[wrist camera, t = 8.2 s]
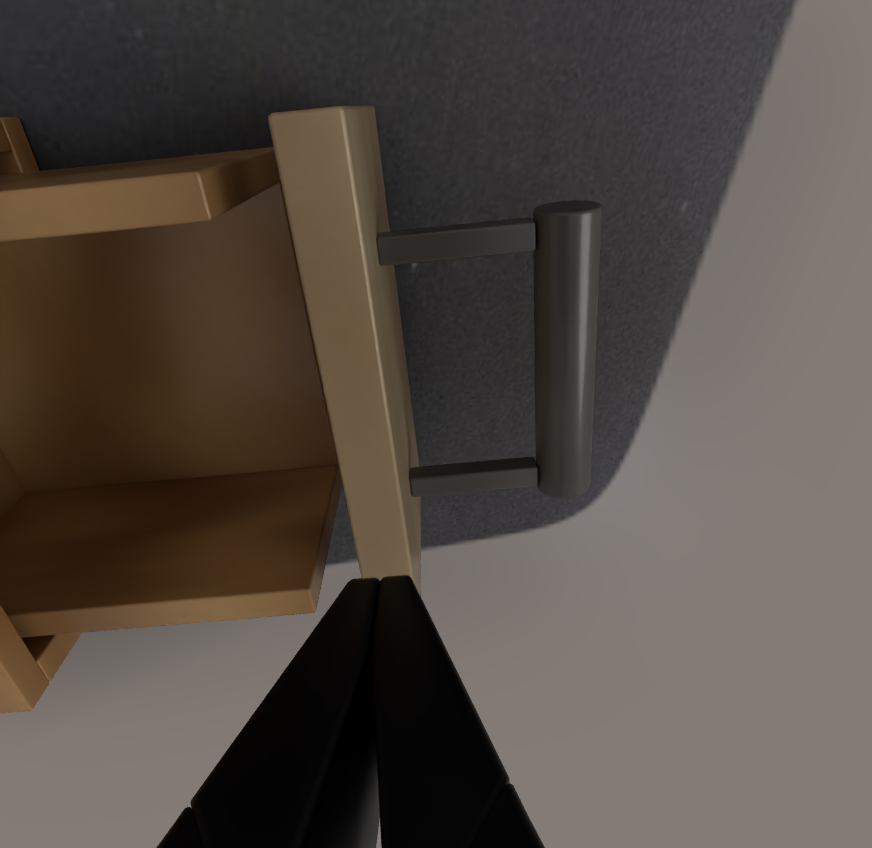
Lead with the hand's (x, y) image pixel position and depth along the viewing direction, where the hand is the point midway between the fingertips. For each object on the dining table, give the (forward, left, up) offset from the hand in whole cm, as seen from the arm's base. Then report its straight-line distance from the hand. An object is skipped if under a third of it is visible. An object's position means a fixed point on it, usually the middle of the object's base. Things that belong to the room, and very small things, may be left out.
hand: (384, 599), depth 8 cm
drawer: (0, +4, -11) cm, 12 cm away
